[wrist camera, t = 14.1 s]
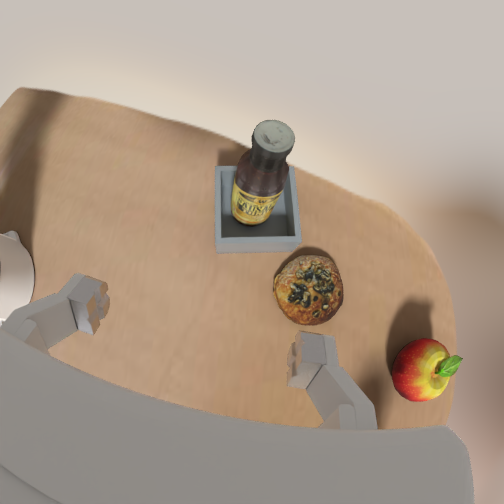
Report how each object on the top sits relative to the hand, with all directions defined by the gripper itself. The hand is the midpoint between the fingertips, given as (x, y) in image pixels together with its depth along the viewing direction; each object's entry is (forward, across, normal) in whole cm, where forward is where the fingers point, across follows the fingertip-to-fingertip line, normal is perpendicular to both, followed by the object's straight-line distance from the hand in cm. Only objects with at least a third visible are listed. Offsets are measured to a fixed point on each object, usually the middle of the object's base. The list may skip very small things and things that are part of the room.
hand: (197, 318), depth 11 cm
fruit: (+20, -34, +24) cm, 46 cm away
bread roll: (+28, -12, +18) cm, 35 cm away
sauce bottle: (+34, -1, +10) cm, 35 cm away
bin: (+34, -2, +11) cm, 35 cm away
